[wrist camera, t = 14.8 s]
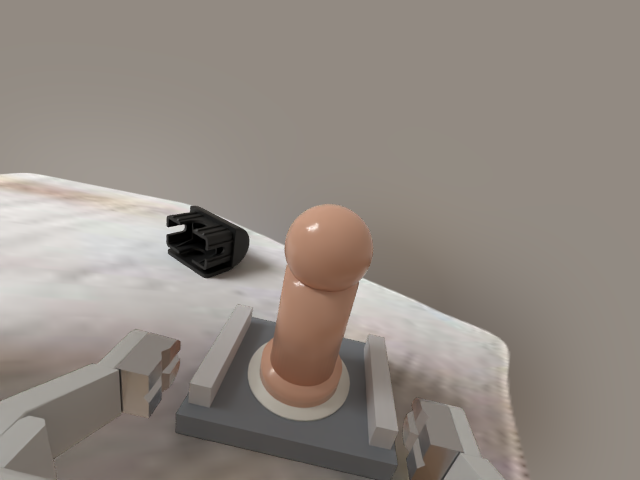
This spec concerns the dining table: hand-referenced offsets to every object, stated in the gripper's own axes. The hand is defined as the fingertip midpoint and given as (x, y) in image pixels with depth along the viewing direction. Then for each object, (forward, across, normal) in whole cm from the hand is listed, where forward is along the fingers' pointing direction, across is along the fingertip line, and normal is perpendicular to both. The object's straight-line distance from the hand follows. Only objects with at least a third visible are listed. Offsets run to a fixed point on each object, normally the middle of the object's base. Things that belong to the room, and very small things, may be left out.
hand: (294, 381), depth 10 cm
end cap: (+32, +16, +16) cm, 39 cm away
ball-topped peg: (+13, -1, +13) cm, 18 cm away
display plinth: (+12, -1, +15) cm, 20 cm away
